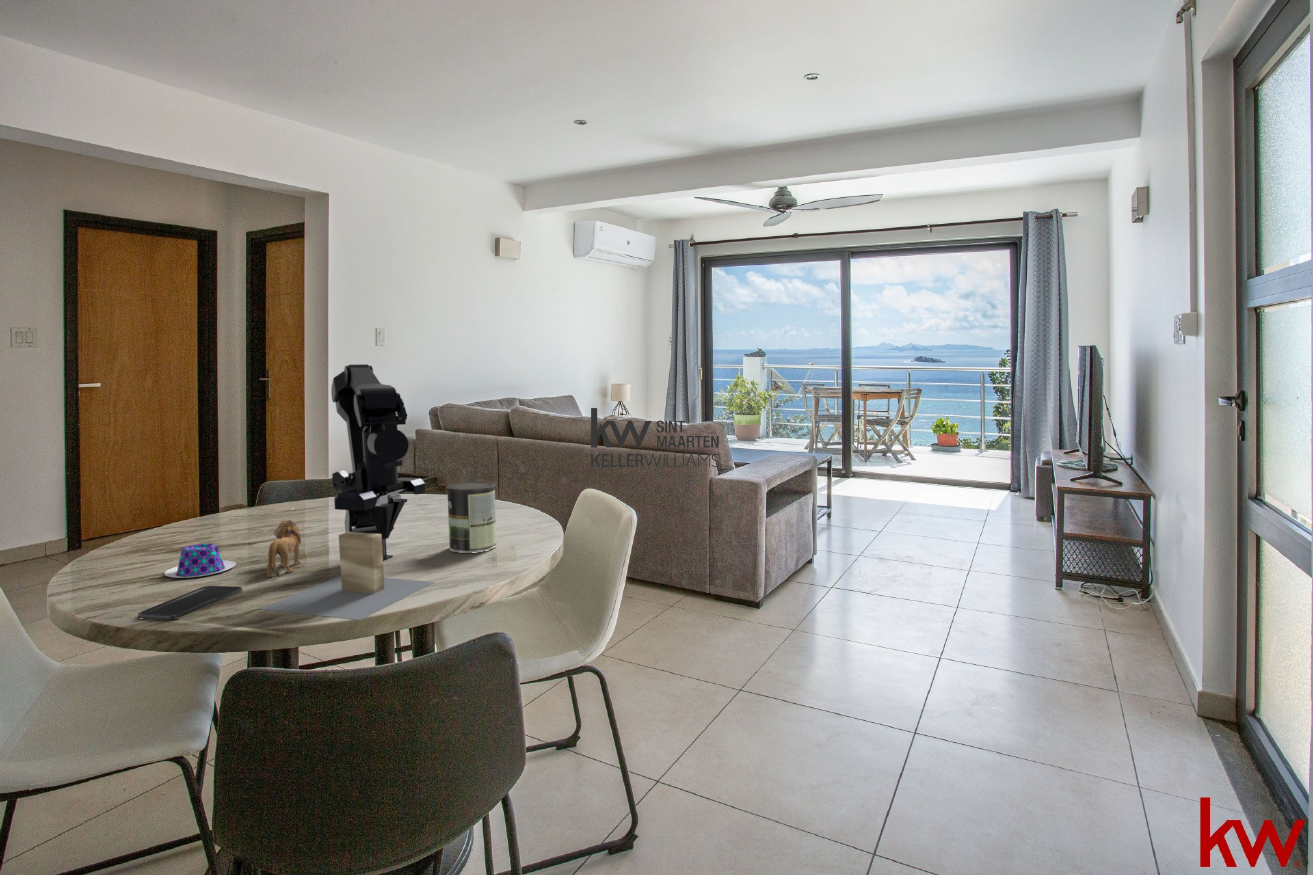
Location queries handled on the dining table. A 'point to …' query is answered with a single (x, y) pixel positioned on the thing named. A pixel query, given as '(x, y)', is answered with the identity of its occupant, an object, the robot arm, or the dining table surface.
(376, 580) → the maple tile
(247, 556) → the dining table surface
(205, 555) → the purple patterned hat
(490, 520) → the coffee can
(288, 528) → the lion figurine
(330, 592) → the rubber mat
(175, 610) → the phone
